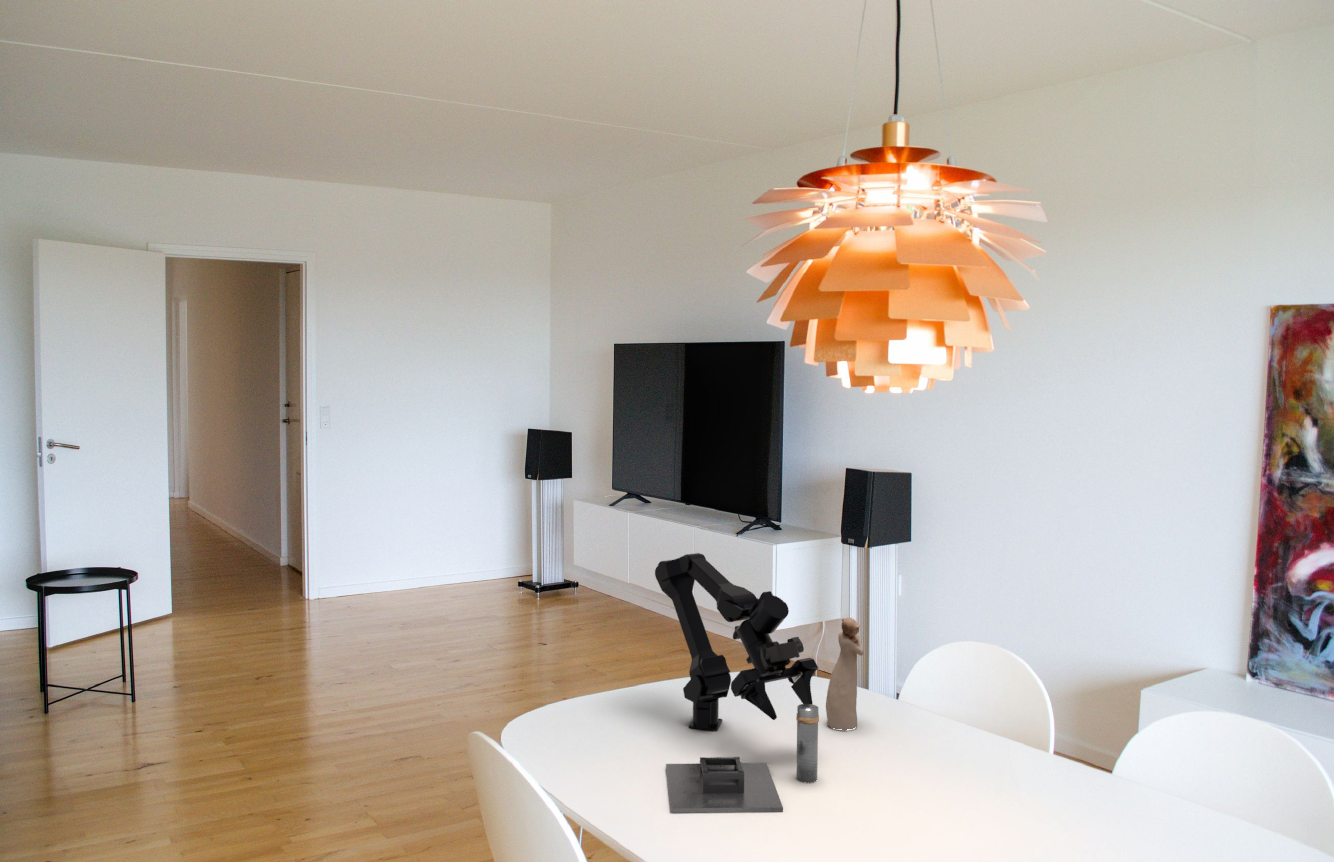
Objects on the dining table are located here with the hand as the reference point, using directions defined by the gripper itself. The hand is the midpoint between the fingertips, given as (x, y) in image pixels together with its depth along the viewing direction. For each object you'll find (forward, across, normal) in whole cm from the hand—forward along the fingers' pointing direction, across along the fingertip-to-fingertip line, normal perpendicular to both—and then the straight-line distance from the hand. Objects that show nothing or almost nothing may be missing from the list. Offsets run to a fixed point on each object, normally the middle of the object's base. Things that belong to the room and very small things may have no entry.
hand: (793, 714), depth 189 cm
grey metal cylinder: (+11, 0, +5) cm, 12 cm away
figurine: (-1, +26, +18) cm, 32 cm away
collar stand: (+7, -17, +8) cm, 20 cm away
